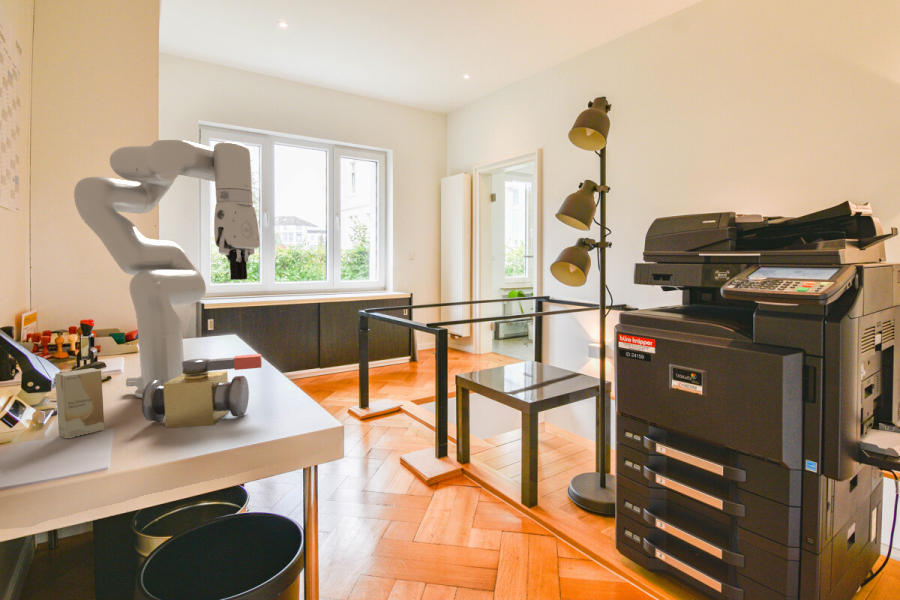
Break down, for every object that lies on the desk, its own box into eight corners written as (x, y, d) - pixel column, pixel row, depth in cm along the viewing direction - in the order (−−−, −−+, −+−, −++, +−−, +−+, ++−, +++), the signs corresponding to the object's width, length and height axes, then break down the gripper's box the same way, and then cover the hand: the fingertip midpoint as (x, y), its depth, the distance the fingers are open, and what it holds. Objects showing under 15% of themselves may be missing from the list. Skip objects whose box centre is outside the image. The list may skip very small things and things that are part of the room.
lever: (180, 376, 90) (179, 363, 90) (185, 370, 95) (184, 359, 95) (261, 368, 96) (260, 357, 96) (261, 363, 100) (261, 353, 100)
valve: (142, 429, 89) (138, 381, 88) (165, 414, 98) (161, 371, 97) (236, 423, 91) (233, 377, 90) (250, 409, 100) (247, 367, 99)
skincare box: (66, 440, 84) (61, 376, 83) (58, 435, 86) (52, 373, 85) (107, 429, 89) (102, 369, 89) (97, 425, 92) (92, 366, 91)
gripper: (225, 193, 94) (230, 280, 96) (268, 203, 109) (272, 278, 110) (195, 195, 96) (200, 281, 97) (242, 204, 110) (246, 278, 112)
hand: (239, 279), depth 104 cm, fingers closed
